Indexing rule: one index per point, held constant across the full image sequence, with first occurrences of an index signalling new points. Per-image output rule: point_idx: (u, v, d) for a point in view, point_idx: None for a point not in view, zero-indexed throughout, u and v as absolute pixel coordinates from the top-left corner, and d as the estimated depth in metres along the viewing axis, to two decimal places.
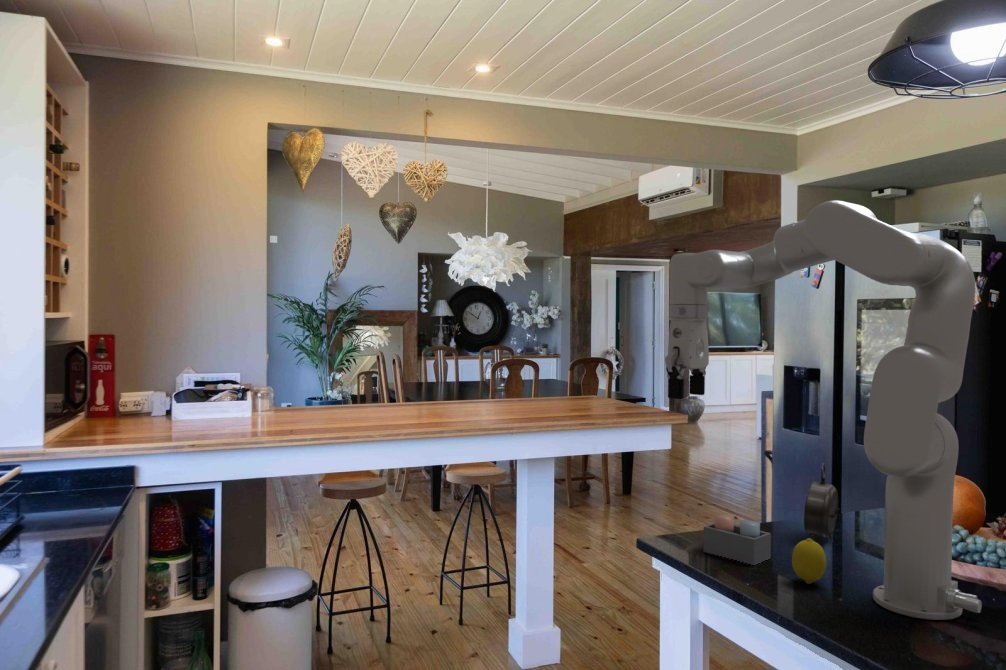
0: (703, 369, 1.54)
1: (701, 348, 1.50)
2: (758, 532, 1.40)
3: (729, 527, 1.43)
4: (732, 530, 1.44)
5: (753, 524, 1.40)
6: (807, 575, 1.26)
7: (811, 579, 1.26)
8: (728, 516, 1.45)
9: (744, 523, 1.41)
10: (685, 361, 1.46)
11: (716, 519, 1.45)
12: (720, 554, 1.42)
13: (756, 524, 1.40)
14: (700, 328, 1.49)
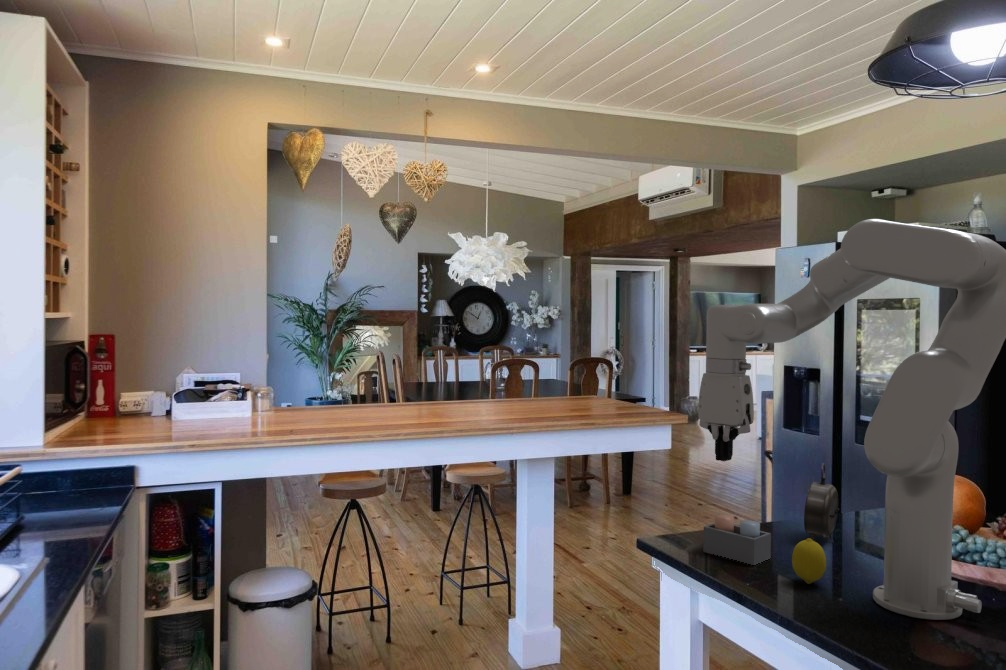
0: None
1: None
2: (758, 532, 1.40)
3: (729, 527, 1.43)
4: (732, 530, 1.44)
5: (753, 524, 1.40)
6: (807, 575, 1.26)
7: (811, 579, 1.26)
8: (728, 516, 1.45)
9: (744, 523, 1.41)
10: (752, 417, 1.42)
11: (716, 519, 1.45)
12: (720, 554, 1.42)
13: (756, 524, 1.40)
14: None
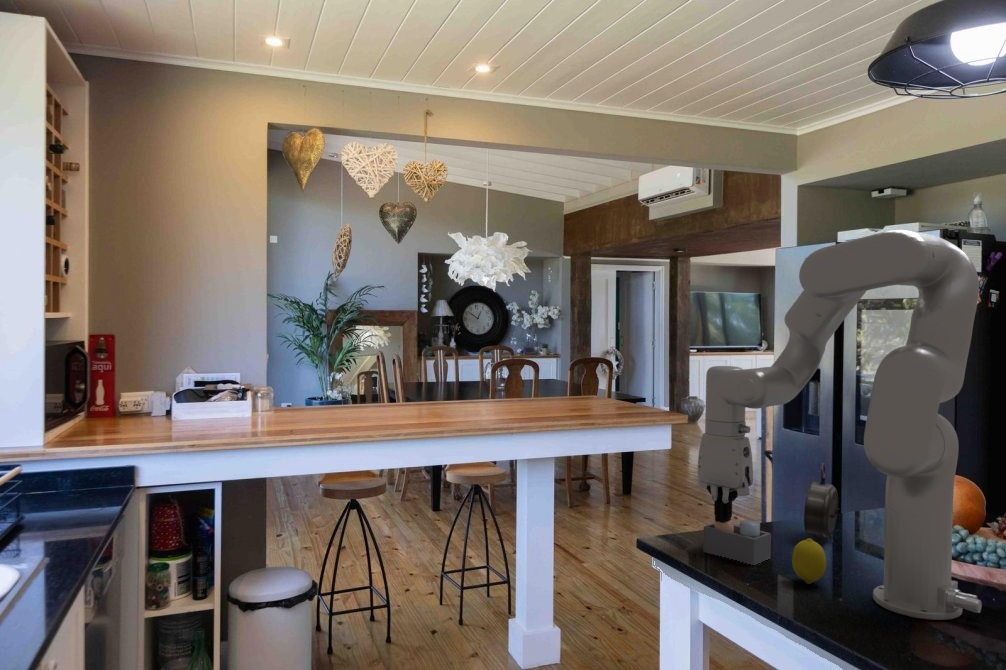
0: None
1: None
2: (758, 532, 1.40)
3: None
4: None
5: (753, 524, 1.40)
6: (807, 575, 1.26)
7: (811, 579, 1.26)
8: None
9: (744, 523, 1.41)
10: (751, 479, 1.43)
11: (716, 523, 1.45)
12: (720, 554, 1.42)
13: (756, 524, 1.40)
14: None
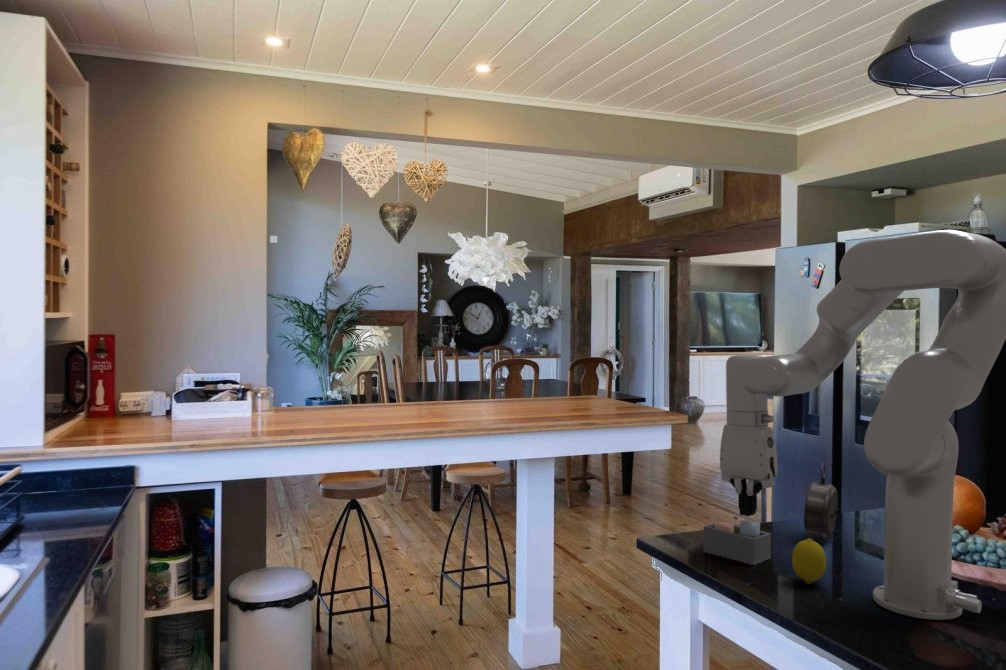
0: None
1: None
2: (758, 532, 1.40)
3: None
4: None
5: (753, 524, 1.40)
6: (807, 575, 1.26)
7: (811, 579, 1.26)
8: (728, 523, 1.45)
9: (744, 523, 1.41)
10: (775, 470, 1.39)
11: (716, 526, 1.45)
12: (720, 554, 1.42)
13: (756, 524, 1.40)
14: None
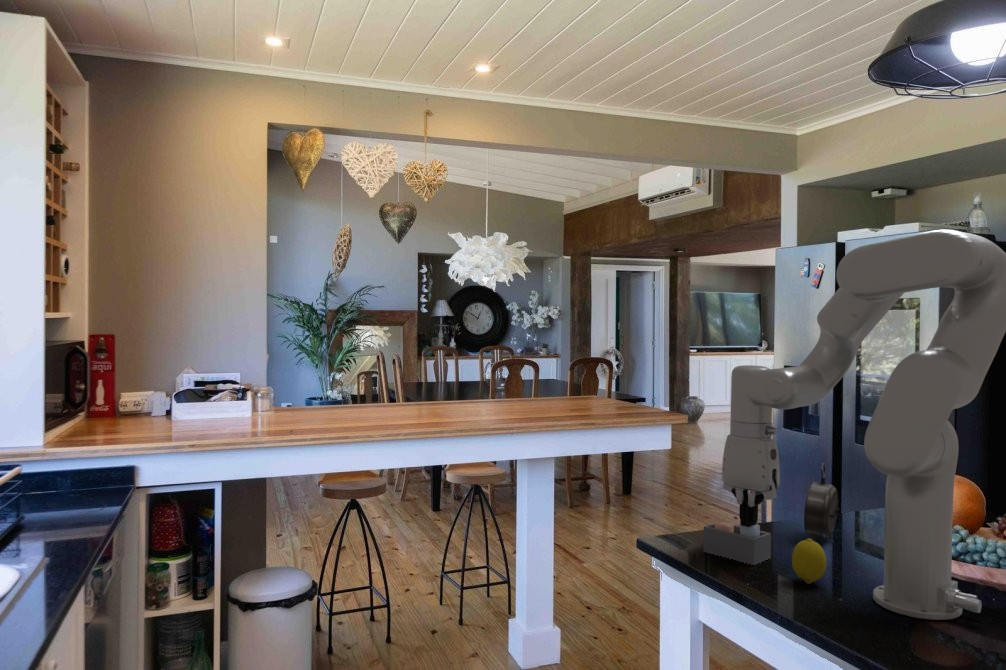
0: None
1: None
2: (758, 534, 1.40)
3: None
4: None
5: (753, 526, 1.40)
6: (807, 575, 1.26)
7: (811, 579, 1.26)
8: (728, 523, 1.45)
9: (744, 525, 1.41)
10: (778, 482, 1.38)
11: (716, 526, 1.45)
12: (720, 554, 1.42)
13: (756, 526, 1.40)
14: None
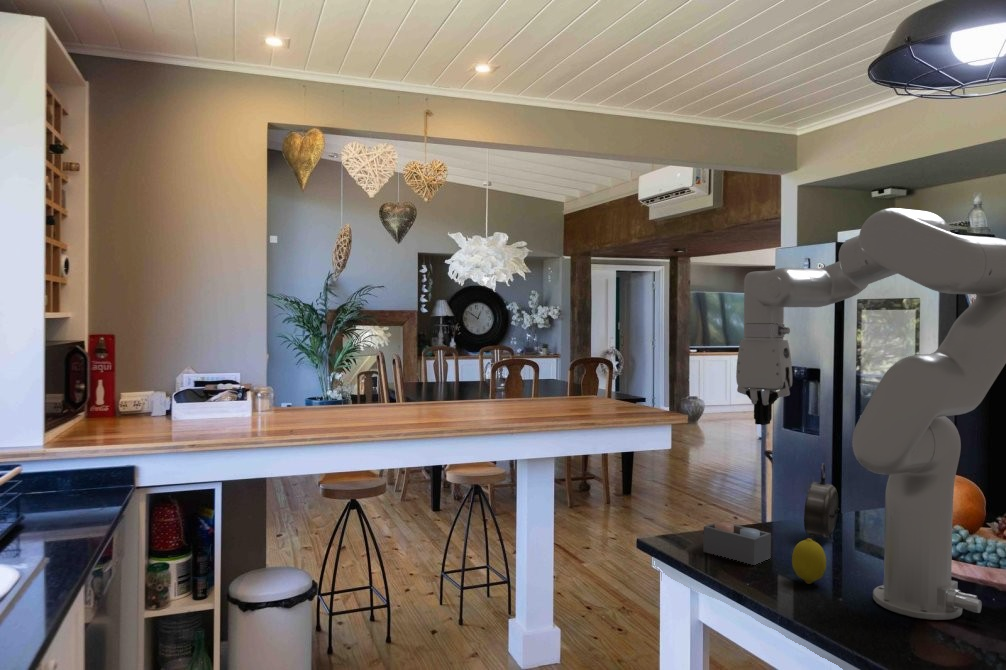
0: None
1: None
2: None
3: None
4: None
5: (753, 532, 1.40)
6: (807, 575, 1.26)
7: (811, 579, 1.26)
8: (728, 523, 1.45)
9: (744, 530, 1.41)
10: (790, 380, 1.45)
11: (716, 526, 1.45)
12: (720, 554, 1.42)
13: (756, 532, 1.40)
14: None
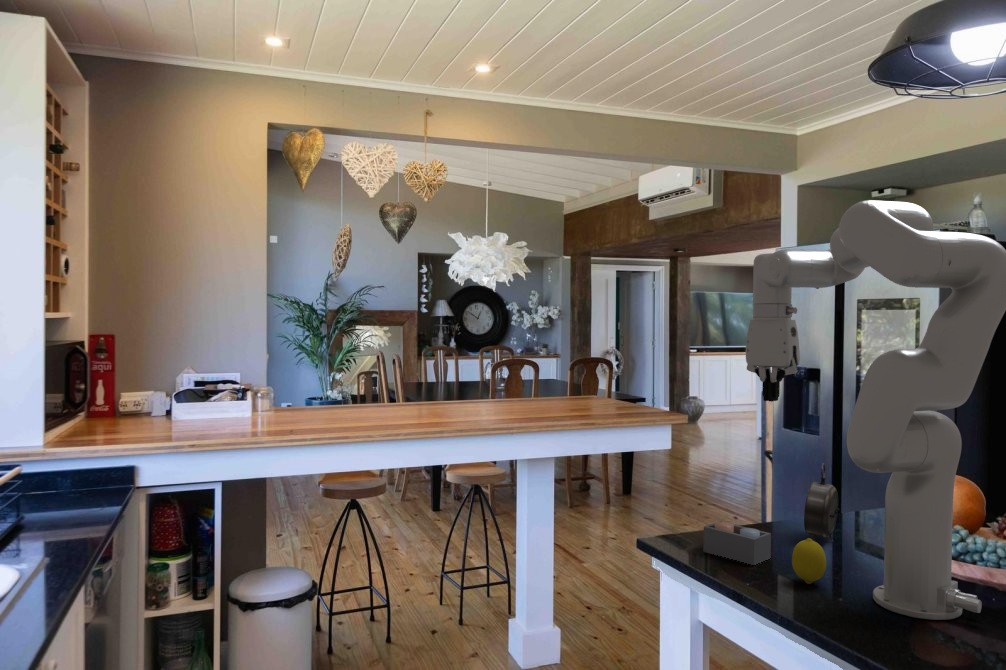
0: None
1: None
2: None
3: None
4: None
5: (753, 532, 1.40)
6: (807, 575, 1.26)
7: (811, 579, 1.26)
8: (728, 523, 1.45)
9: (744, 530, 1.41)
10: (798, 359, 1.51)
11: (716, 526, 1.45)
12: (720, 554, 1.42)
13: (756, 532, 1.40)
14: None
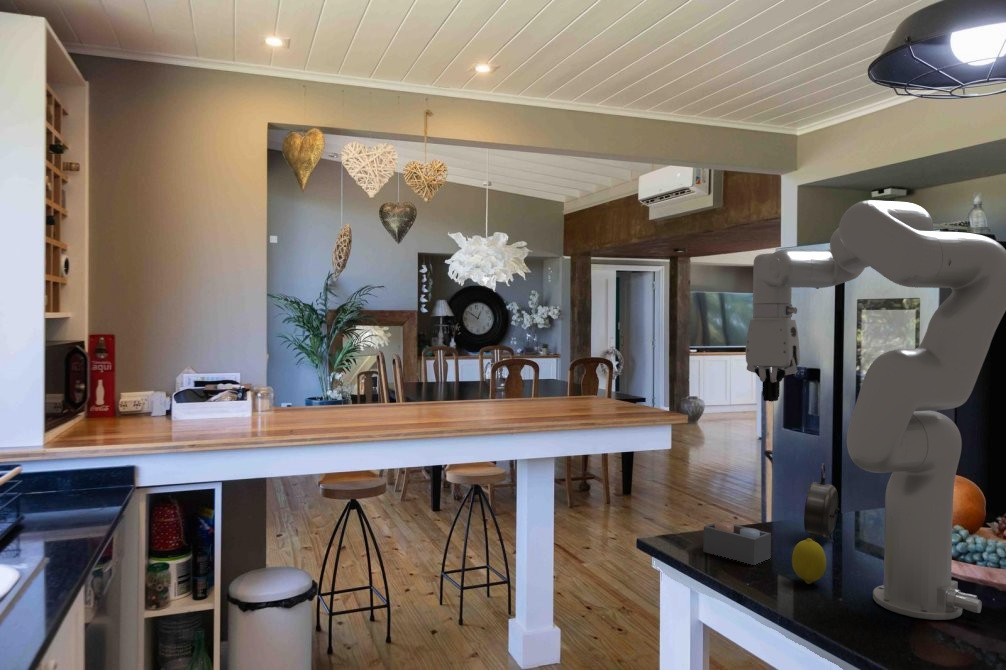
0: None
1: None
2: None
3: None
4: None
5: (753, 532, 1.40)
6: (807, 575, 1.26)
7: (811, 579, 1.26)
8: (728, 523, 1.45)
9: (744, 530, 1.41)
10: (798, 359, 1.51)
11: (716, 526, 1.45)
12: (720, 554, 1.42)
13: (756, 532, 1.40)
14: None
